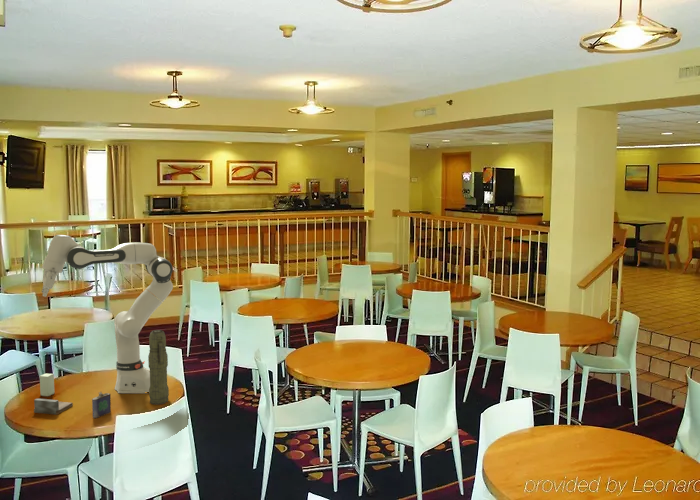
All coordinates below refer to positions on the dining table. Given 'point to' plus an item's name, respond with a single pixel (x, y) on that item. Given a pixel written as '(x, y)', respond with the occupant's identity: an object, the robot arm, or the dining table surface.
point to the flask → (101, 405)
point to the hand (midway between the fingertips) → (43, 294)
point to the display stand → (50, 406)
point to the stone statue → (158, 368)
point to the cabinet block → (47, 384)
